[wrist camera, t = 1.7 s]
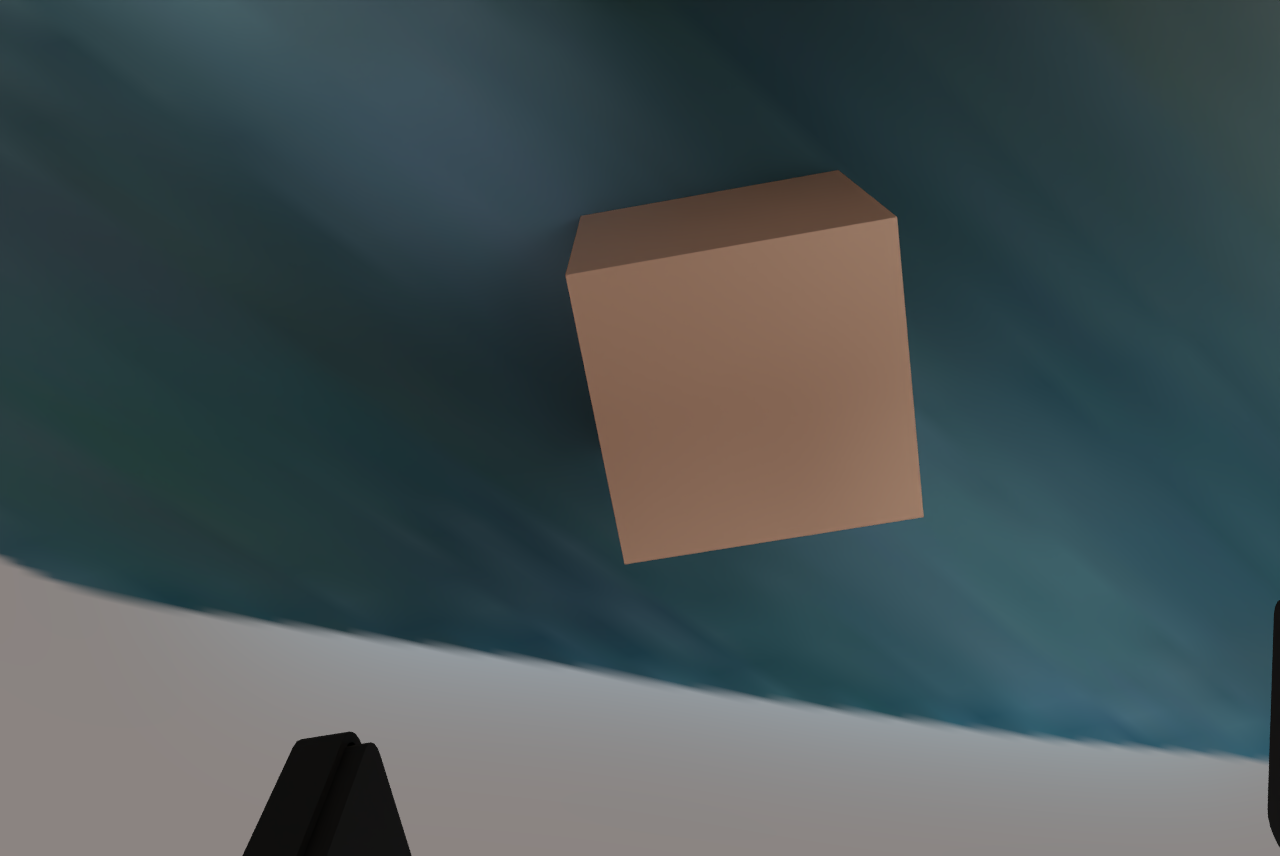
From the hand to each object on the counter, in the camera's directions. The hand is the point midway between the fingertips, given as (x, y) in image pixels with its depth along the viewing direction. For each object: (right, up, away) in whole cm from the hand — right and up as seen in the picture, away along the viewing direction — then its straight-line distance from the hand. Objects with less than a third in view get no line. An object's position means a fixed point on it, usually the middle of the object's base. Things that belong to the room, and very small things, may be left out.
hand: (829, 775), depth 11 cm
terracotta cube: (0, +6, +15) cm, 16 cm away
